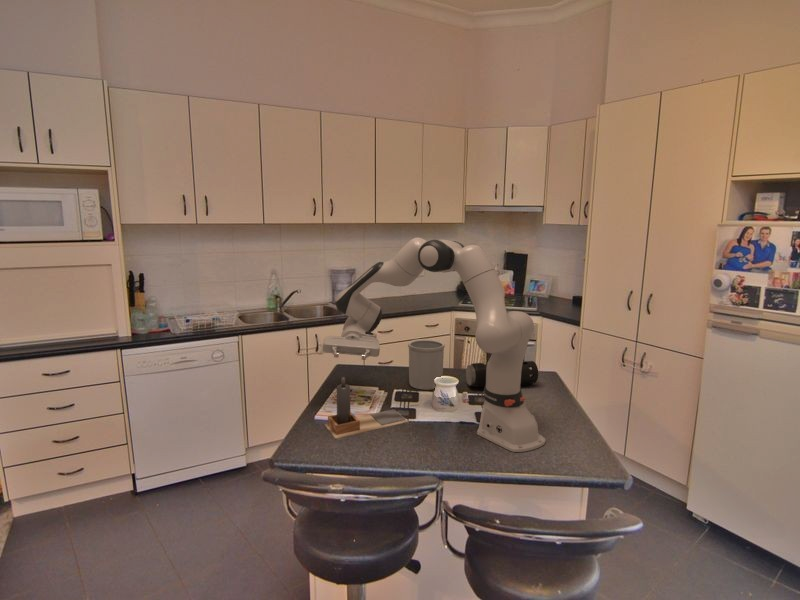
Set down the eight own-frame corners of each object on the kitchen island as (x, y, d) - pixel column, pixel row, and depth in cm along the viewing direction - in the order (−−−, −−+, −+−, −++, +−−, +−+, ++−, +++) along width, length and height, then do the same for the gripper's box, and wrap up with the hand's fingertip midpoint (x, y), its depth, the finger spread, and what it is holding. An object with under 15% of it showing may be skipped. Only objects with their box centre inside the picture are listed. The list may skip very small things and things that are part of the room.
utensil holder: (408, 377, 203) (408, 338, 200) (442, 377, 202) (443, 338, 199) (406, 390, 189) (407, 348, 185) (444, 391, 188) (445, 349, 184)
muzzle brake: (537, 388, 191) (539, 364, 189) (471, 392, 187) (472, 368, 185) (527, 380, 200) (529, 357, 198) (464, 384, 196) (465, 360, 194)
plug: (352, 428, 152) (352, 379, 149) (339, 431, 150) (339, 381, 147) (347, 423, 156) (347, 374, 153) (335, 425, 154) (334, 376, 151)
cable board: (408, 425, 158) (409, 413, 157) (335, 443, 146) (335, 429, 145) (394, 413, 168) (394, 401, 167) (324, 428, 156) (323, 415, 155)
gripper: (325, 329, 172) (320, 346, 159) (380, 334, 173) (380, 351, 161) (324, 344, 174) (319, 362, 162) (379, 349, 176) (378, 367, 163)
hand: (350, 356), depth 161 cm, fingers open, 8 cm apart
